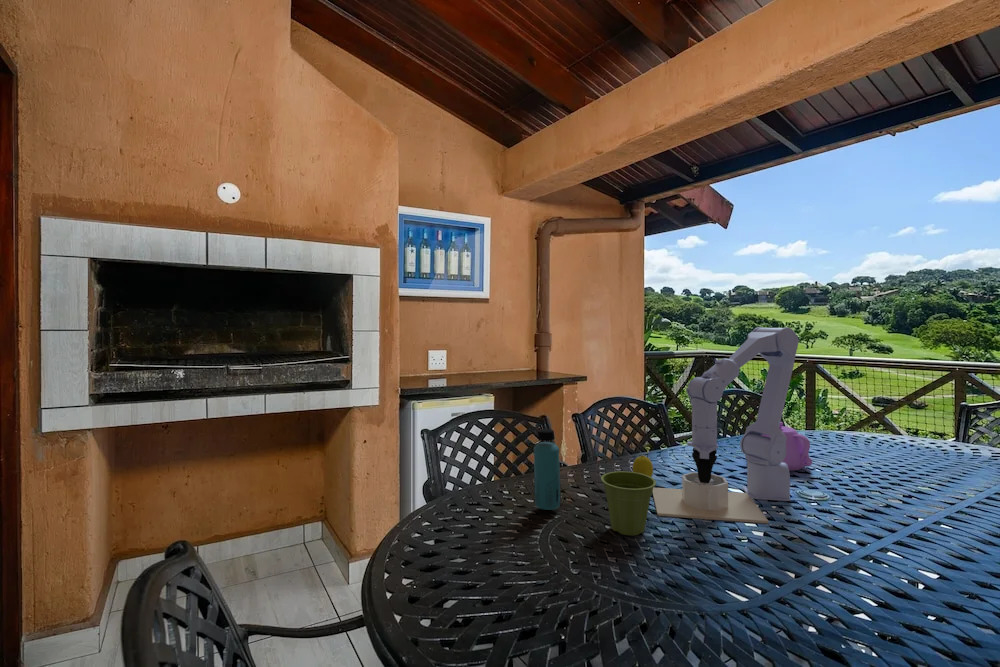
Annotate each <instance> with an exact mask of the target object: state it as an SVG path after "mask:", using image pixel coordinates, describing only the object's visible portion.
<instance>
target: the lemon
mask: <svg viewBox="0 0 1000 667" xmlns="http://www.w3.org/2000/svg"><path fill="white" fill-rule="evenodd" d="M632 472H636V473H641V474H644V475H647V476H650V477H652V478H653V472H654V467H653V462H652V461H651V459H650V458H648V457H647V456H645V455H644V454H642V455H640V456H637V457H636V458H635V459H634V461H633V463H632Z"/></svg>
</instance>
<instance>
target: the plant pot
mask: <svg viewBox="0 0 1000 667" xmlns="http://www.w3.org/2000/svg"><path fill="white" fill-rule="evenodd" d="M600 481H601V482H602V483H603V488H604V491H605V494H606V502H607V508H608V513H609V514H608V515H609V521H610V528H611V529H612V531H614V532H618V533H619V534H620V535H623V536H632V537H634V536H638V535H640V534H641V533H642V534H643V533H644V532H645V529H646V523H647V520H648V519H647V518H648V514H649V513H648V512H649V506H650V501H651V497H652V496H653V493H652V491H653V488H655V487H656V485H657V481H656V480H655V478H653V476H652V477H650V476H647V475H644V474H641V473H636V472H633V471H622V470H619V471H610V472H606V473H604V474H603V475H601V476H600Z"/></svg>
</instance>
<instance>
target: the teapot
mask: <svg viewBox="0 0 1000 667" xmlns="http://www.w3.org/2000/svg"><path fill="white" fill-rule="evenodd" d="M747 427H748V426H747ZM747 427H745V428H746V429H747ZM779 428H780V430H781V431H782V432H783V433H784V434H785V436H786V437H787V440H786V456H785V458H784V460H783V461H782V462H784V463H786V464H787V466H788V468H789V472H790V471H799V470H802V469H803V468H805V467H811V466H812V465H813V460H812V458H811V457H810V455H809V452H810V447H811V443H810V439H809V438H808V437H807V436H806V435H803V434H800V433H798V432H797V430H796V429H795V428H792V427H788V426H784V422H783V421H780V425H779ZM761 436H765V437H769V438H770V436H769V435H765V434H763V435H761Z"/></svg>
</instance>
